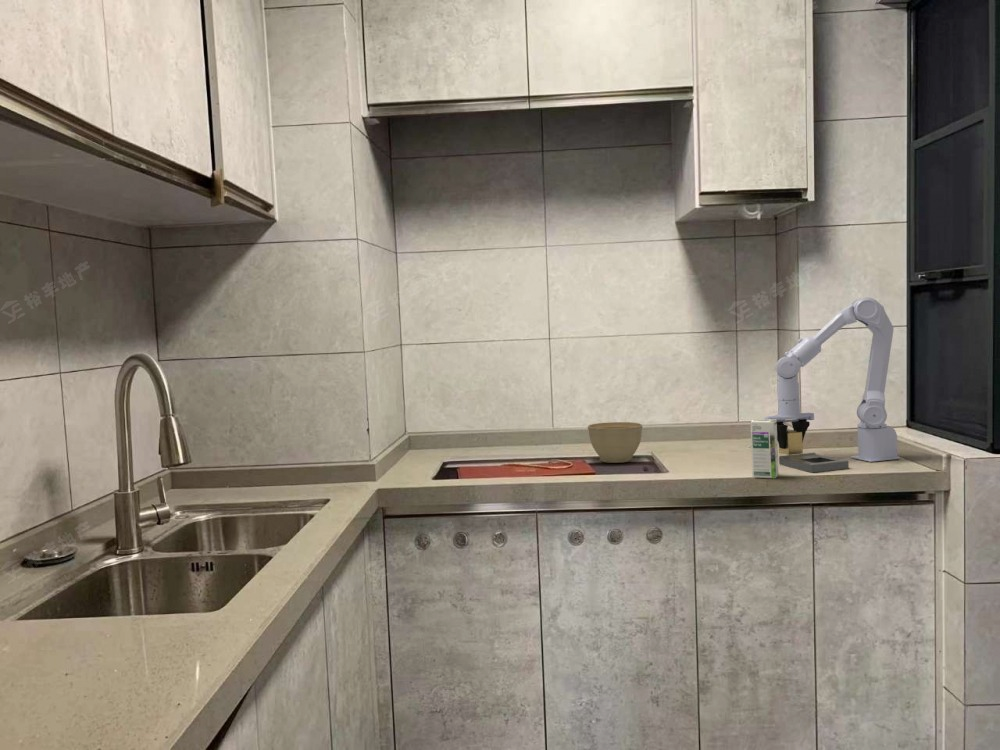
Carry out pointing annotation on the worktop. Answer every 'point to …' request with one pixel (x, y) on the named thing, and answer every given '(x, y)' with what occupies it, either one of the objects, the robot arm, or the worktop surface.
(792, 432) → the block
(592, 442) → the planter bowl
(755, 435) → the syrup box
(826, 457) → the rail plate
